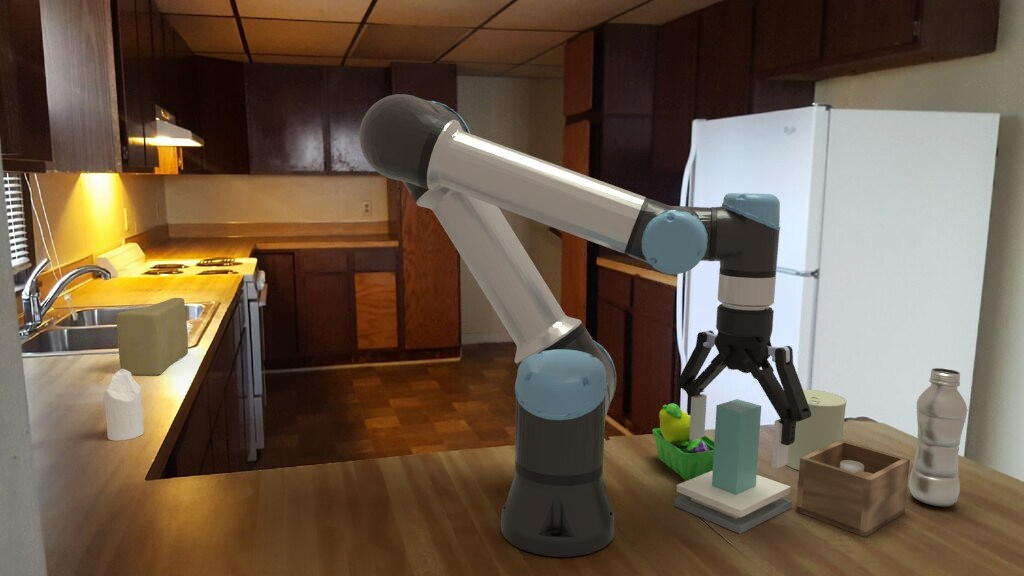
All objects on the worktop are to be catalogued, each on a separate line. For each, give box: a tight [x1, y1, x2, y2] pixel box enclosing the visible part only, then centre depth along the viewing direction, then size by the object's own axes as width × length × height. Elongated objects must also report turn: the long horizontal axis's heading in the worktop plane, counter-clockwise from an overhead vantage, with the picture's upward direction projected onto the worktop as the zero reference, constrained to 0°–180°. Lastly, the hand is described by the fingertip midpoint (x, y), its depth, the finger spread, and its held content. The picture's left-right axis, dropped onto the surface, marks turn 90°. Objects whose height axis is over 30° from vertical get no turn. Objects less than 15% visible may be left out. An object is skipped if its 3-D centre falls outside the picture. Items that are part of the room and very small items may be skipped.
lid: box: [676, 398, 792, 519], centre depth 107 cm, size 13×11×14 cm
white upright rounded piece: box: [103, 368, 145, 442], centre depth 133 cm, size 6×12×6 cm
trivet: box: [673, 494, 793, 535], centre depth 109 cm, size 13×11×1 cm
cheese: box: [116, 297, 189, 377], centre depth 182 cm, size 22×10×15 cm, turn 177°
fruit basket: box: [651, 403, 714, 481], centre depth 122 cm, size 11×9×11 cm
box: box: [795, 439, 911, 538], centre depth 107 cm, size 12×10×8 cm
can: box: [785, 389, 847, 471], centre depth 125 cm, size 9×9×12 cm
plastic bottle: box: [908, 367, 968, 508], centre depth 110 cm, size 6×7×20 cm
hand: (736, 451), depth 107 cm, fingers open, 13 cm apart
